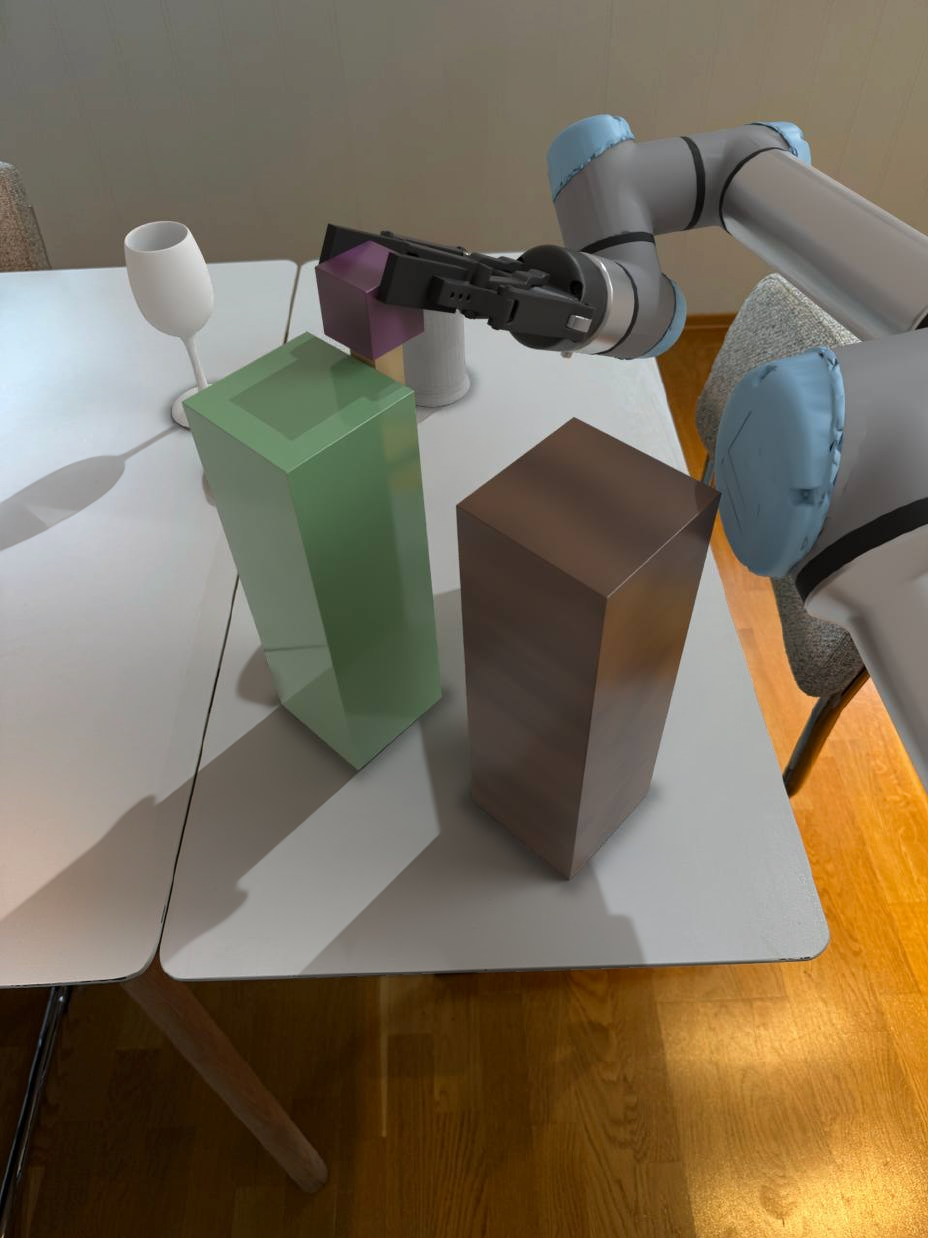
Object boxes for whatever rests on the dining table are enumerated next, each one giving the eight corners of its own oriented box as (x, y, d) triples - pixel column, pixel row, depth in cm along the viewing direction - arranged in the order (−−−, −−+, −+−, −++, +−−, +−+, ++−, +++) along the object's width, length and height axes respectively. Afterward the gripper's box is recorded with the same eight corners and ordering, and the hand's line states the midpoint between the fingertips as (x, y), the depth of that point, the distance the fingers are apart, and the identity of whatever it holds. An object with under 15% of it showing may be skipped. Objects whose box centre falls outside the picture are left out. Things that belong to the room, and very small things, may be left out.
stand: (569, 881, 67) (606, 598, 43) (471, 801, 72) (455, 504, 47) (648, 793, 72) (722, 492, 47) (551, 723, 76) (573, 415, 52)
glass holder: (402, 411, 105) (389, 292, 94) (388, 343, 114) (375, 228, 103) (475, 401, 106) (472, 282, 94) (456, 335, 115) (451, 220, 103)
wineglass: (189, 382, 110) (135, 213, 94) (256, 388, 109) (213, 218, 93) (160, 426, 105) (97, 254, 89) (229, 433, 103) (179, 260, 87)
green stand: (358, 771, 74) (286, 473, 50) (281, 704, 79) (180, 401, 54) (442, 697, 79) (414, 390, 54) (365, 638, 83) (306, 330, 59)
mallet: (365, 292, 51) (421, 263, 53) (313, 266, 53) (369, 239, 55) (386, 500, 62) (432, 469, 65) (343, 472, 65) (389, 443, 67)
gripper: (638, 391, 68) (445, 383, 50) (468, 310, 76) (249, 277, 58) (679, 292, 65) (488, 244, 46) (497, 218, 73) (274, 152, 55)
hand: (356, 262), depth 52 cm, fingers closed on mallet, 5 cm apart
